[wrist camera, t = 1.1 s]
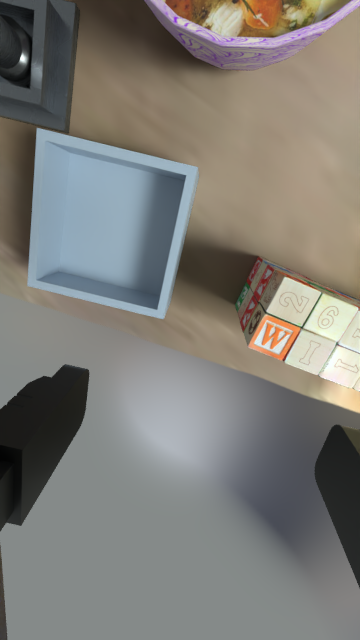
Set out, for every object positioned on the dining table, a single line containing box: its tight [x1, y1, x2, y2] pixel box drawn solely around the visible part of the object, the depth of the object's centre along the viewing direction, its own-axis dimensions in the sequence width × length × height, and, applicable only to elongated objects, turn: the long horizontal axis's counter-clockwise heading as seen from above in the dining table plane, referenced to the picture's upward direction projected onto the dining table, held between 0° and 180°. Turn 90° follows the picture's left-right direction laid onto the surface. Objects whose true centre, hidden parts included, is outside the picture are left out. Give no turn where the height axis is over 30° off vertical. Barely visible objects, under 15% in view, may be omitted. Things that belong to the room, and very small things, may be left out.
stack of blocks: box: [235, 257, 360, 392], centre depth 29 cm, size 21×6×12 cm, turn 68°
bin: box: [27, 128, 199, 319], centre depth 30 cm, size 14×14×6 cm
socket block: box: [0, 0, 80, 133], centre depth 27 cm, size 10×10×4 cm
